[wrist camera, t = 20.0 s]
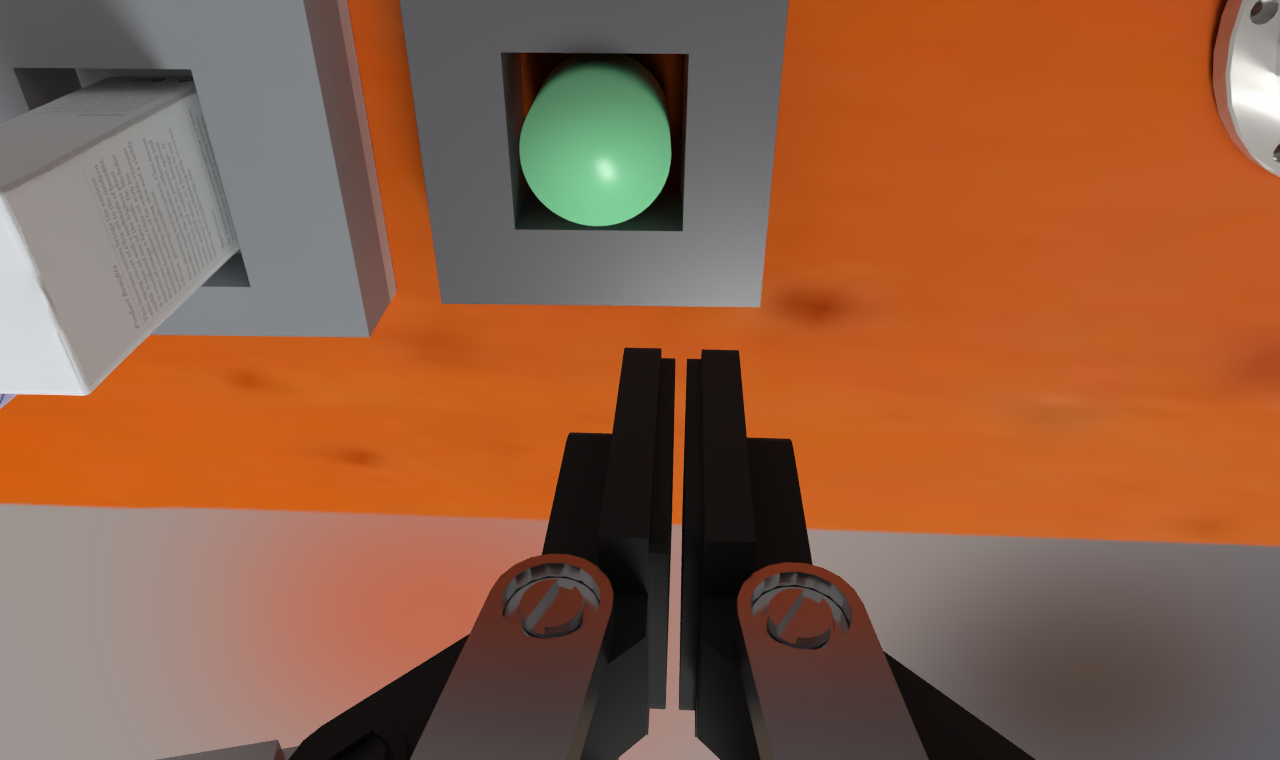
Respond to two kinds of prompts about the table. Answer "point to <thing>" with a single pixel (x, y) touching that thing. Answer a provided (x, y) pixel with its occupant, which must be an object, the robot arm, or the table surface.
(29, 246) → the skincare box
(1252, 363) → the table surface
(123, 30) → the grey slotted board
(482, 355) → the table surface
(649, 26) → the button housing
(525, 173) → the button
